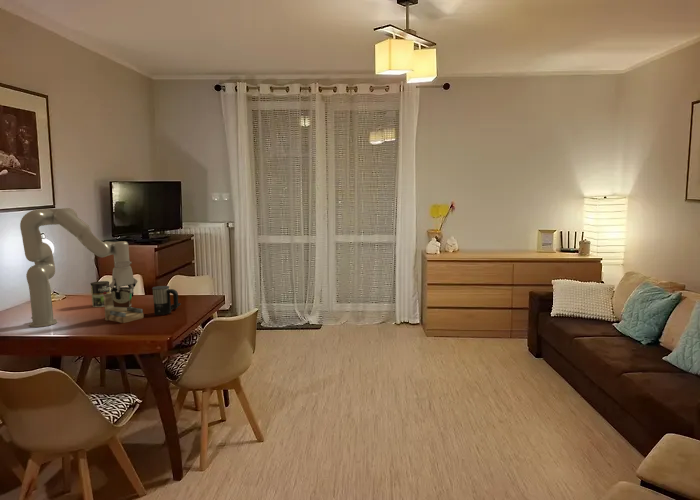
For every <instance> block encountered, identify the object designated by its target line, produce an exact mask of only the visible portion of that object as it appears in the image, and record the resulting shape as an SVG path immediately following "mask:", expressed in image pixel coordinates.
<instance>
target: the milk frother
mask: <svg viewBox="0 0 700 500" xmlns="http://www.w3.org/2000/svg"><path fill="white" fill-rule="evenodd" d="M151 289H152V297H153V298H152V299H153V311H154V312H153V314H154V315H155V316H156V315H157V316H160V315H162V316H163V315H168V314H171V313H172V310H174V309H175V310H176V309H178V308H179V307H180V306H181V305H182V304H181V303H180V302H179V294H178V291H177V290H176V289H173V288H170V286H169V285H157V286H153V287H152V288H151ZM171 294H172V297H173V299H172V300H173V303H171Z"/></svg>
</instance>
